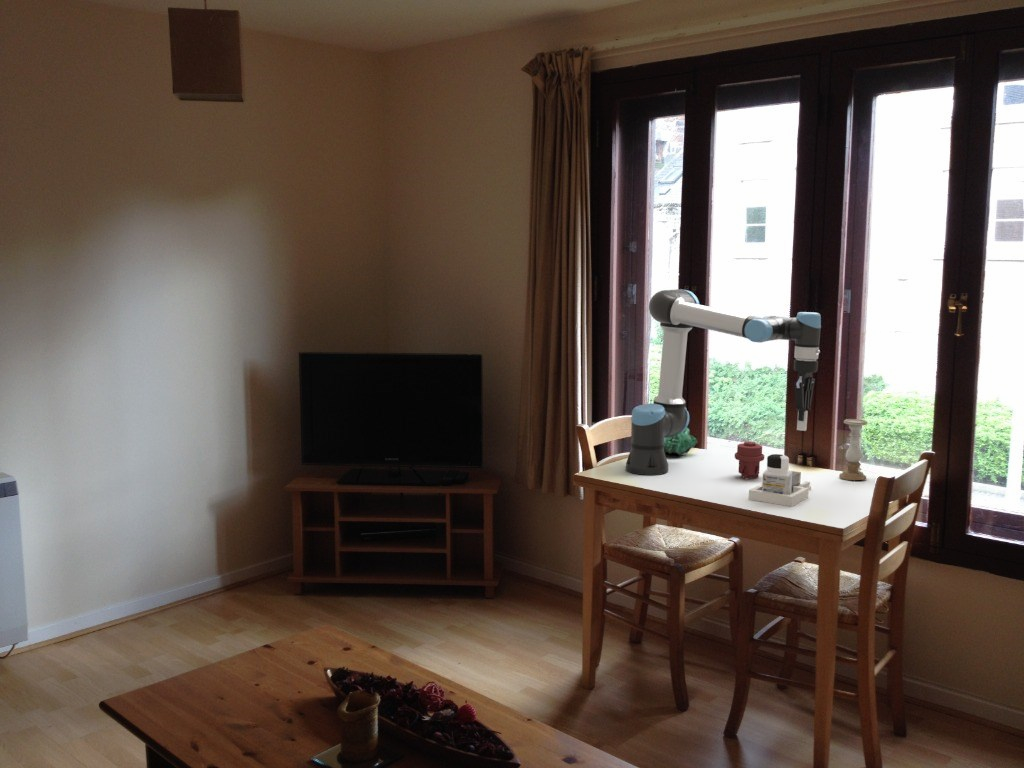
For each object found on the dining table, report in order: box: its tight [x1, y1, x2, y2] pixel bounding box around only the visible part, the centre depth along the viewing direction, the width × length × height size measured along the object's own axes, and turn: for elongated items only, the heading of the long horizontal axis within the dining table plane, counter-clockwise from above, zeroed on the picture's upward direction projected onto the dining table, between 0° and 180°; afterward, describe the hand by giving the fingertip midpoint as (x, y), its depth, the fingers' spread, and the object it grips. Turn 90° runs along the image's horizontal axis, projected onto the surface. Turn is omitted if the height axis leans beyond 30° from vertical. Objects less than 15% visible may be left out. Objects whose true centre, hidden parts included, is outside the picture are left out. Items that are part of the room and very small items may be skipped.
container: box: [761, 453, 793, 495], centre depth 280 cm, size 8×8×13 cm
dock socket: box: [748, 481, 812, 507], centre depth 285 cm, size 14×25×3 cm, turn 142°
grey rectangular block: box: [791, 470, 802, 492], centre depth 287 cm, size 4×10×5 cm, turn 142°
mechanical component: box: [734, 441, 765, 480], centre depth 308 cm, size 12×10×10 cm
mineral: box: [664, 427, 698, 457], centre depth 347 cm, size 18×16×10 cm
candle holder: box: [839, 418, 868, 482], centre depth 306 cm, size 9×9×20 cm
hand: (801, 430), depth 294 cm, fingers closed
